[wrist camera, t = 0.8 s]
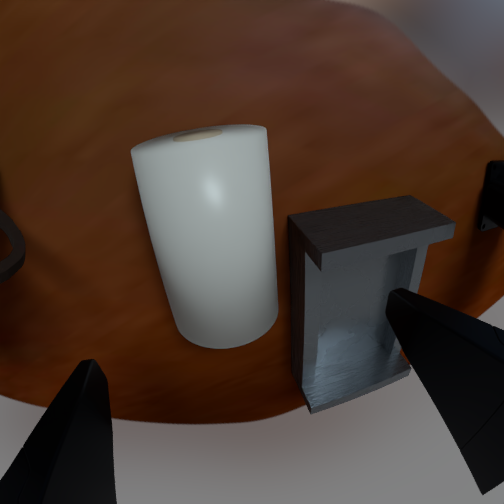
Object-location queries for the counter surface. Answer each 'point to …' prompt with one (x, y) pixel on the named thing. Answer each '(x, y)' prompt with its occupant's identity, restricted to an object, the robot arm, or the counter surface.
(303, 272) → the cradle holder
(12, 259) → the coffee mug
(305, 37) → the counter surface
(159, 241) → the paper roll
